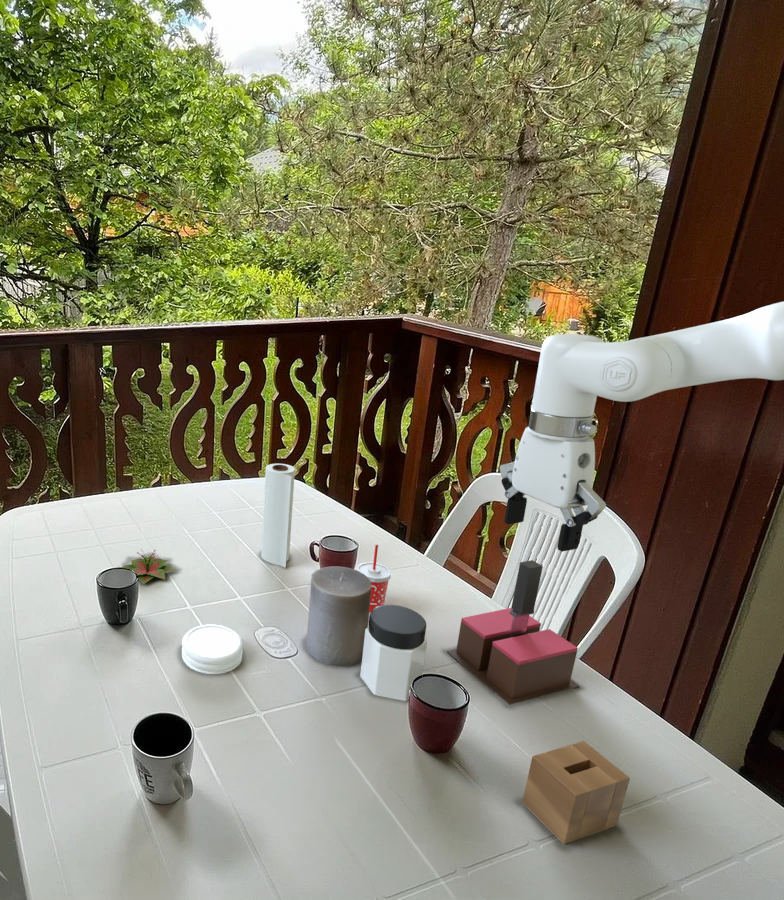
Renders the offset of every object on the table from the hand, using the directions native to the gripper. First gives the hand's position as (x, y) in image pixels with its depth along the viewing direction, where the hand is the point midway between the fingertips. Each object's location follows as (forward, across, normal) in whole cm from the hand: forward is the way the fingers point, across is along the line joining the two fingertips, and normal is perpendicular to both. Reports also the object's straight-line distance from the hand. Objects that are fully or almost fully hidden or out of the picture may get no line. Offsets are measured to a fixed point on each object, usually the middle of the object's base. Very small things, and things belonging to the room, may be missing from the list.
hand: (539, 535), depth 94 cm
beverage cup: (+24, +22, +12) cm, 35 cm away
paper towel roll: (+24, +46, +20) cm, 56 cm away
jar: (+24, +4, +21) cm, 32 cm away
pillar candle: (+24, +14, +24) cm, 37 cm away
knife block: (+25, -23, +15) cm, 37 cm away
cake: (+24, +1, 0) cm, 25 cm away
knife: (+24, +1, 0) cm, 24 cm away
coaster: (+24, +19, +45) cm, 54 cm away
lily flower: (+24, +50, +47) cm, 73 cm away
